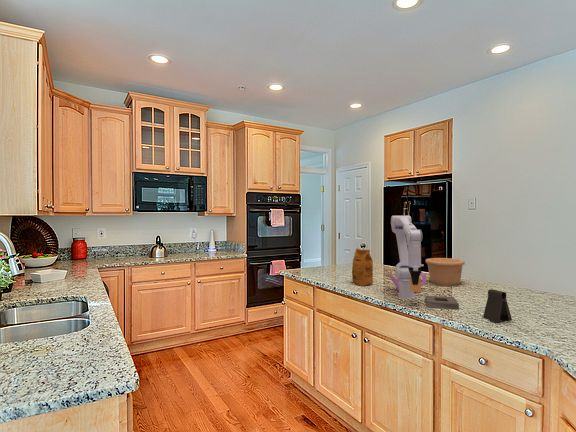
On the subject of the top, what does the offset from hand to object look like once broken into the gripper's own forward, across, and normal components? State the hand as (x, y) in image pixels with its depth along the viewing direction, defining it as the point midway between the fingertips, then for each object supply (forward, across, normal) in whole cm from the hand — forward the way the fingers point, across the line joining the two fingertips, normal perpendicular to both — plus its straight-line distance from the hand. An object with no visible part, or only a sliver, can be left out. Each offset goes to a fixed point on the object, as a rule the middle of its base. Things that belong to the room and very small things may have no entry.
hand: (414, 283), depth 164 cm
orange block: (+3, 0, 0) cm, 3 cm away
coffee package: (+10, +44, +28) cm, 53 cm away
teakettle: (+11, +34, +2) cm, 36 cm away
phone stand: (+11, -15, -30) cm, 36 cm away
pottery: (+10, +57, -21) cm, 62 cm away
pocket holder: (+10, +2, -12) cm, 16 cm away
